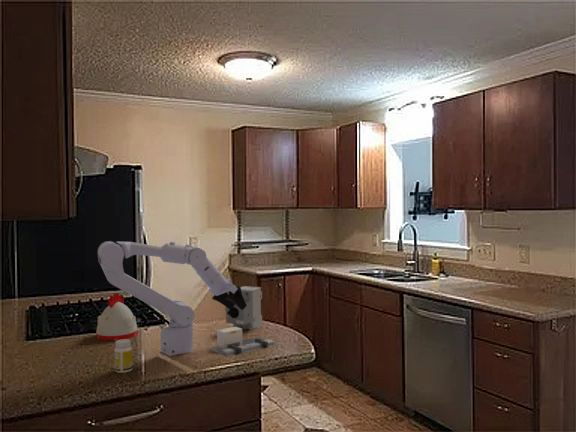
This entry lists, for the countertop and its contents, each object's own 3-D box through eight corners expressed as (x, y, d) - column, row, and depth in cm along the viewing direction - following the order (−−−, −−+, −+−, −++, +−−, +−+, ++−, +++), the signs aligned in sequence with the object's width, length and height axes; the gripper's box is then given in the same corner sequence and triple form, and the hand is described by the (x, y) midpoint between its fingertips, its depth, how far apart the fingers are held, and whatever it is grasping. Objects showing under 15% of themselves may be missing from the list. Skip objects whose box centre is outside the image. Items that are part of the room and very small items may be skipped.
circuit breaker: (223, 334, 185) (222, 292, 184) (245, 325, 197) (244, 286, 197) (241, 336, 181) (240, 293, 181) (262, 327, 194) (261, 287, 193)
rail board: (227, 360, 155) (227, 351, 155) (206, 351, 164) (206, 343, 164) (280, 347, 168) (280, 339, 168) (258, 339, 177) (258, 332, 177)
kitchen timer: (87, 339, 181) (86, 296, 181) (113, 329, 194) (112, 289, 194) (121, 342, 177) (120, 298, 176) (145, 332, 190) (144, 291, 189)
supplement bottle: (134, 367, 149) (133, 338, 149) (130, 373, 145) (129, 342, 144) (117, 367, 149) (116, 338, 149) (112, 373, 145) (111, 343, 144)
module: (242, 344, 167) (242, 328, 167) (223, 349, 163) (223, 332, 163) (235, 342, 171) (235, 326, 170) (217, 346, 166) (216, 330, 166)
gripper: (231, 267, 163) (257, 298, 167) (210, 269, 174) (234, 298, 178) (217, 283, 159) (244, 314, 163) (196, 284, 171) (221, 314, 175)
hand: (238, 307), depth 170 cm, fingers open, 7 cm apart
